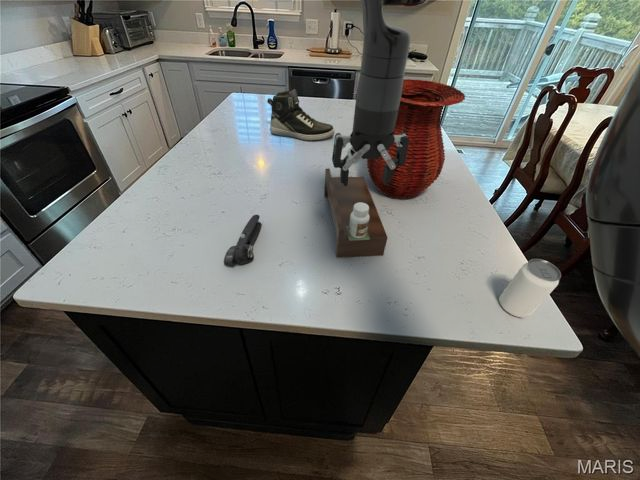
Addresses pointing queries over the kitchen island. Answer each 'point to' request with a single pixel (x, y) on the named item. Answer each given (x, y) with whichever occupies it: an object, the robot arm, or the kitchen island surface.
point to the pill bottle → (359, 220)
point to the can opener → (244, 244)
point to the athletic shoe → (295, 119)
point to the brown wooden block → (341, 210)
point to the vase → (417, 138)
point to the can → (529, 287)
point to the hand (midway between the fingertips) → (365, 183)
